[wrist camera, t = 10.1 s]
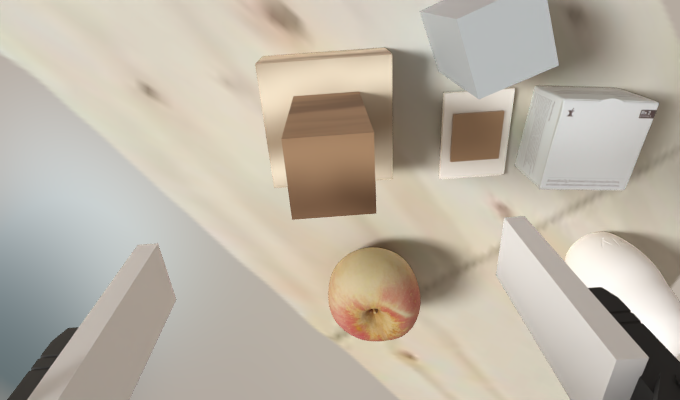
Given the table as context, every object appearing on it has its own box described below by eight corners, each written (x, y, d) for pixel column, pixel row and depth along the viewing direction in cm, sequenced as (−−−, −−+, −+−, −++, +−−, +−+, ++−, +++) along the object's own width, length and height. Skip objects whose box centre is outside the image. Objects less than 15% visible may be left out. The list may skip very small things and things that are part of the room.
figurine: (546, 282, 45) (615, 372, 34) (576, 223, 42) (663, 304, 31) (604, 290, 46) (689, 380, 35) (638, 233, 43) (744, 314, 32)
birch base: (262, 56, 33) (255, 64, 30) (384, 47, 33) (392, 54, 30) (278, 169, 38) (274, 187, 34) (386, 161, 38) (392, 179, 34)
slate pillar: (419, 11, 32) (456, 19, 23) (481, -18, 31) (543, -21, 22) (438, 71, 34) (478, 99, 25) (496, 45, 33) (558, 65, 25)
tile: (443, 92, 35) (445, 94, 34) (512, 87, 35) (516, 89, 34) (438, 177, 39) (440, 180, 38) (501, 172, 39) (504, 175, 38)
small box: (512, 167, 39) (537, 190, 34) (533, 83, 35) (564, 97, 31) (591, 169, 39) (626, 192, 35) (620, 86, 36) (663, 100, 31)
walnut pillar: (293, 96, 31) (281, 139, 22) (359, 91, 31) (374, 132, 22) (300, 158, 33) (292, 219, 24) (361, 153, 33) (376, 213, 24)
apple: (414, 290, 45) (432, 347, 38) (336, 305, 46) (339, 364, 38) (404, 224, 41) (421, 274, 34) (318, 242, 42) (317, 293, 34)
